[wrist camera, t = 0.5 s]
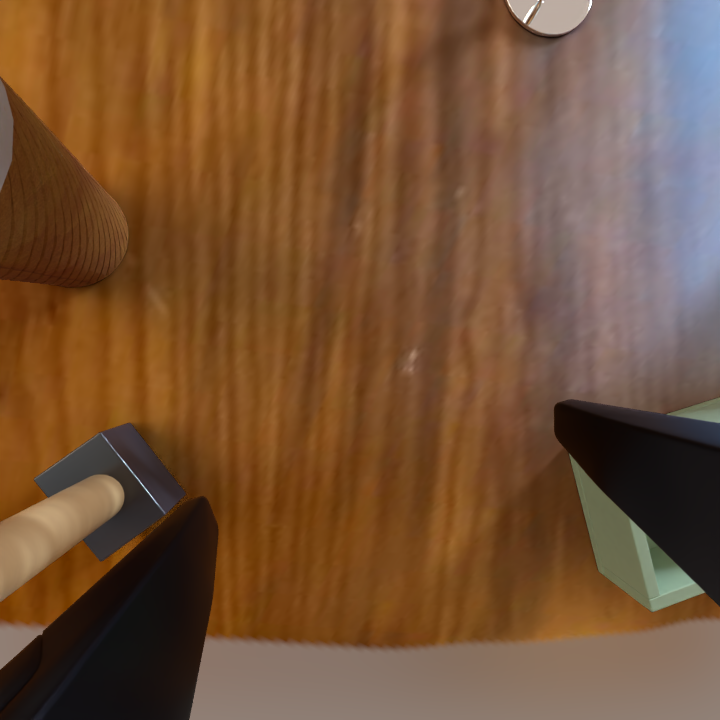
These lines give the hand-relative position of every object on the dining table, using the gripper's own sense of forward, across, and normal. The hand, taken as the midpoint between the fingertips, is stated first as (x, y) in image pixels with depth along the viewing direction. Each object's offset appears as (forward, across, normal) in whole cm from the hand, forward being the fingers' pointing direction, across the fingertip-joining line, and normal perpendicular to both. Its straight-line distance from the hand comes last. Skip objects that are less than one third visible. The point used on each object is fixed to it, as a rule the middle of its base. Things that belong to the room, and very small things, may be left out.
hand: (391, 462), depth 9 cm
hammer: (+13, +14, +6) cm, 20 cm away
